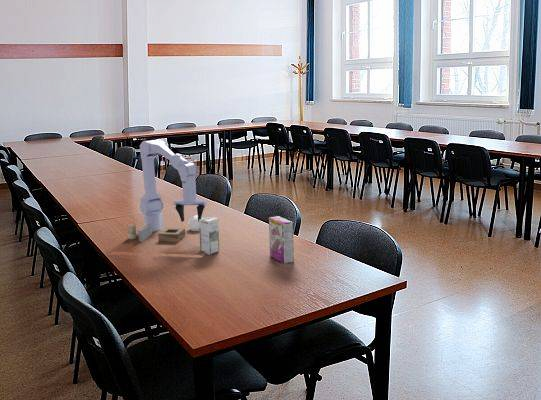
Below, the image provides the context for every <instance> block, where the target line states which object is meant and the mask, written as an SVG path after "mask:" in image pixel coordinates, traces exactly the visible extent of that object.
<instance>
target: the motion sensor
mask: <svg viewBox="0 0 541 400" xmlns="http://www.w3.org/2000/svg"><path fill="white" fill-rule="evenodd" d="M203 218H204V217H203V216H202V217H201V219H203ZM187 225H188V228H189V230H190V231H193V232H200V230H199V222H198V214H196V215H193V216H192V217H190V218H189V220H188V221H187Z"/></svg>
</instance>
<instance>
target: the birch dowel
mask: <svg viewBox="0 0 541 400" xmlns="http://www.w3.org/2000/svg"><path fill="white" fill-rule="evenodd" d="M136 226H137V225H136V224H133V223H132V224H128V225H127V226H126V227H127V229H126V230H127V236H128V237H127V238H128V240H137V229H136V228H137V227H136Z"/></svg>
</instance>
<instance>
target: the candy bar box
mask: <svg viewBox="0 0 541 400" xmlns="http://www.w3.org/2000/svg"><path fill="white" fill-rule="evenodd" d="M268 231H269V257H271V258H272V259H273V260H276V261H278V262H280V263H281V264H285V265H286V264H290V263H294V262H295V261H294V257H295V256H294V255H295V253H294V251H295V250H294V222H293V221H291V220H289V219H287V218H284V217H283V216H279V215H277V216H270V217H268Z"/></svg>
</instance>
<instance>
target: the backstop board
mask: <svg viewBox="0 0 541 400" xmlns="http://www.w3.org/2000/svg"><path fill="white" fill-rule="evenodd" d="M152 235H153V232H152V228H151V224H148V225H146V226H145V225H144V226H143V227H141V228H140V229H139V230H138V242H139V243H141V242H144V241H145V240H146V239H148V238H149V237H151V236H152Z"/></svg>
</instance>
